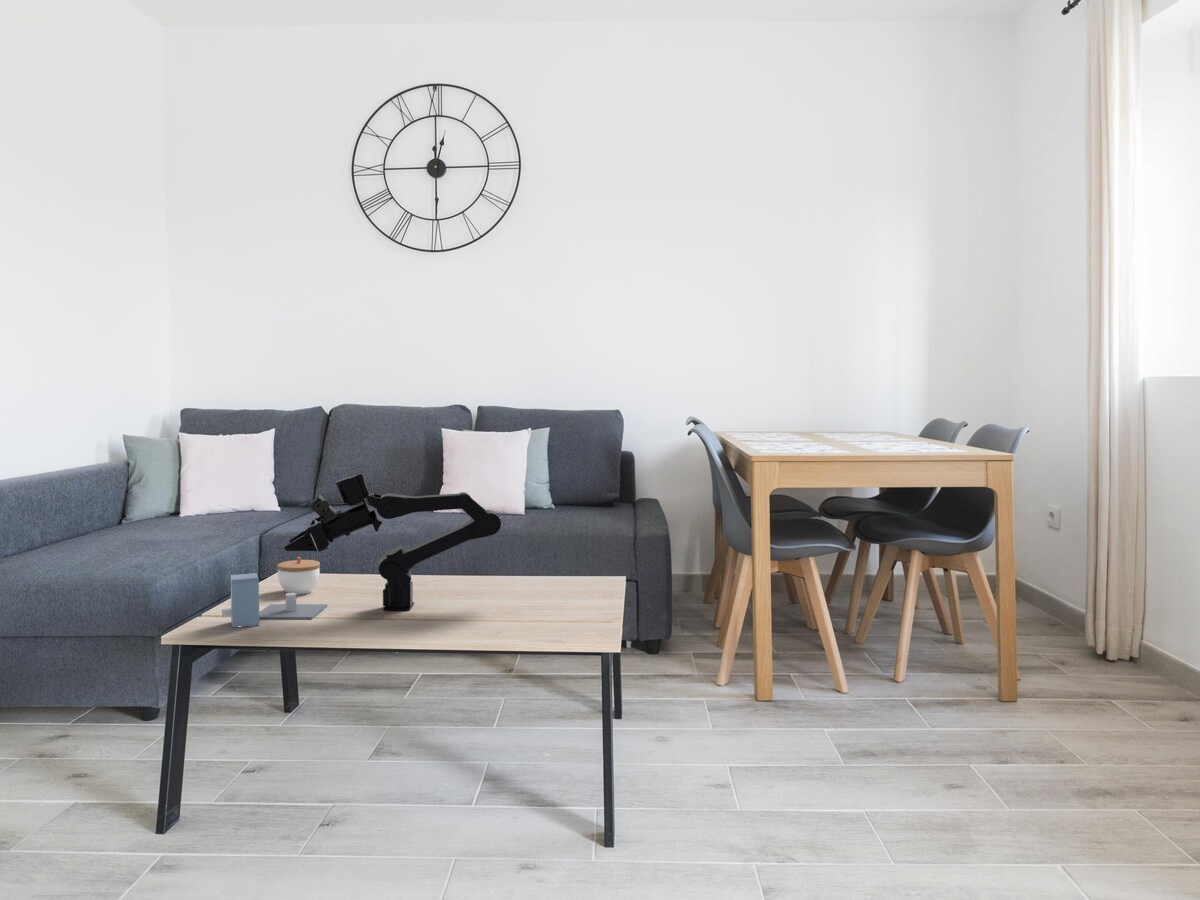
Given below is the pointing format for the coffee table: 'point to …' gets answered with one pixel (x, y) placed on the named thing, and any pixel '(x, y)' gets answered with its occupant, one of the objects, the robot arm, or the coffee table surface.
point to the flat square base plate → (291, 609)
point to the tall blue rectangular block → (244, 600)
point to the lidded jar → (298, 575)
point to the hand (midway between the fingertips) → (287, 545)
